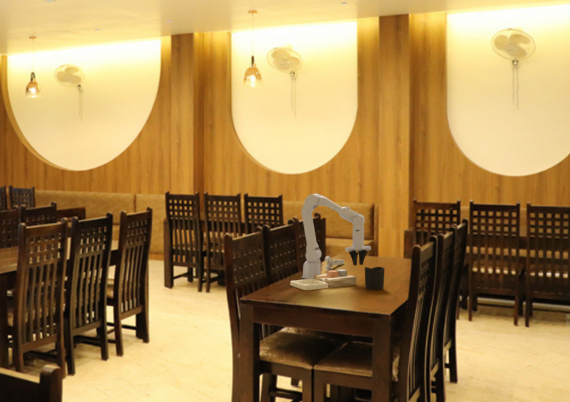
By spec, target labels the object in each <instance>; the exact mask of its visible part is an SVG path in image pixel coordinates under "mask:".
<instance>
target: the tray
mask: <svg viewBox="0 0 570 402" xmlns="http://www.w3.org/2000/svg"><path fill="white" fill-rule="evenodd" d="M290 286H291V287H293V288H297V289H300V290H303V291H312V290H313V291H314V290H320V289H323V290H324V289H328V283H326V282H322V281H319V280H316V279H305V278H304V279H298V280H290Z"/></svg>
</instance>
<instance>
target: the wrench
mask: <svg viewBox="0 0 570 402" xmlns="http://www.w3.org/2000/svg"><path fill="white" fill-rule="evenodd" d="M324 262H326V265H325V268H326V270H327V271H331V270H332V267H333V266H341V265H342V264H343V265H344V264H345V260H344V259H332V258H331V256H330V255H326V256H325V257H324Z"/></svg>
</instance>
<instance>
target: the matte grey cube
mask: <svg viewBox="0 0 570 402" xmlns="http://www.w3.org/2000/svg"><path fill="white" fill-rule="evenodd" d="M335 271H338V277H342V276H348V270H347V269H343V268H342V269H336V270H335Z"/></svg>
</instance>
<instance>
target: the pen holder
mask: <svg viewBox="0 0 570 402" xmlns="http://www.w3.org/2000/svg"><path fill="white" fill-rule="evenodd" d="M384 284H385V267H383V266H375V267H368V266H367V267H364V287H365V290H369V291H382V290H384V287H385V286H384Z"/></svg>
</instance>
